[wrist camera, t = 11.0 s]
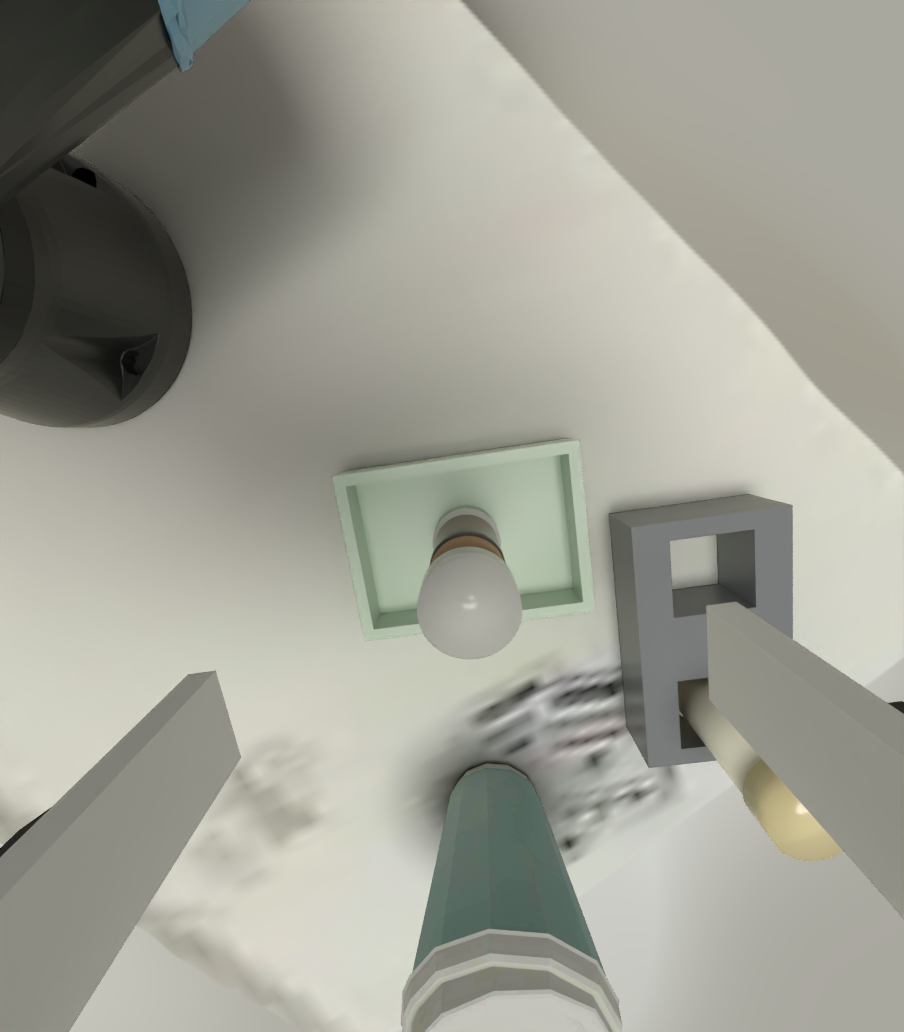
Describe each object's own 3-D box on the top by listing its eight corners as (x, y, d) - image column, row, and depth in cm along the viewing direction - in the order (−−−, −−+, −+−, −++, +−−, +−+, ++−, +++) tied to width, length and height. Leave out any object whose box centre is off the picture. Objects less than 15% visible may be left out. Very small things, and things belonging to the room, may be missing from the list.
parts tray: (344, 471, 30) (331, 476, 27) (567, 438, 29) (579, 439, 26) (373, 621, 32) (364, 641, 29) (582, 593, 31) (595, 611, 28)
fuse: (655, 652, 32) (768, 787, 20) (716, 645, 32) (866, 776, 20) (658, 705, 33) (769, 865, 21) (718, 699, 32) (864, 855, 21)
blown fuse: (429, 510, 30) (408, 568, 18) (493, 501, 29) (515, 553, 18) (439, 571, 30) (425, 665, 19) (502, 562, 30) (528, 652, 18)
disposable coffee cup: (584, 763, 34) (678, 1025, 19) (532, 874, 36) (582, 1188, 21) (448, 720, 33) (438, 956, 19) (404, 836, 35) (364, 1129, 21)
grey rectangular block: (609, 513, 30) (631, 527, 26) (748, 494, 29) (792, 505, 26) (626, 727, 33) (648, 767, 29) (752, 712, 33) (792, 751, 29)
